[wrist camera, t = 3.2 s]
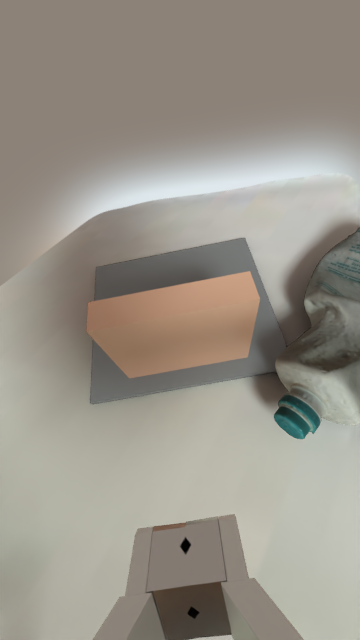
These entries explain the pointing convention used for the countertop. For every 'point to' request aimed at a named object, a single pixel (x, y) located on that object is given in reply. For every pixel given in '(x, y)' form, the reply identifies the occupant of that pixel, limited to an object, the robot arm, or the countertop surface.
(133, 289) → the mat
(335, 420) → the detergent
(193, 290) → the tile
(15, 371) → the countertop surface
